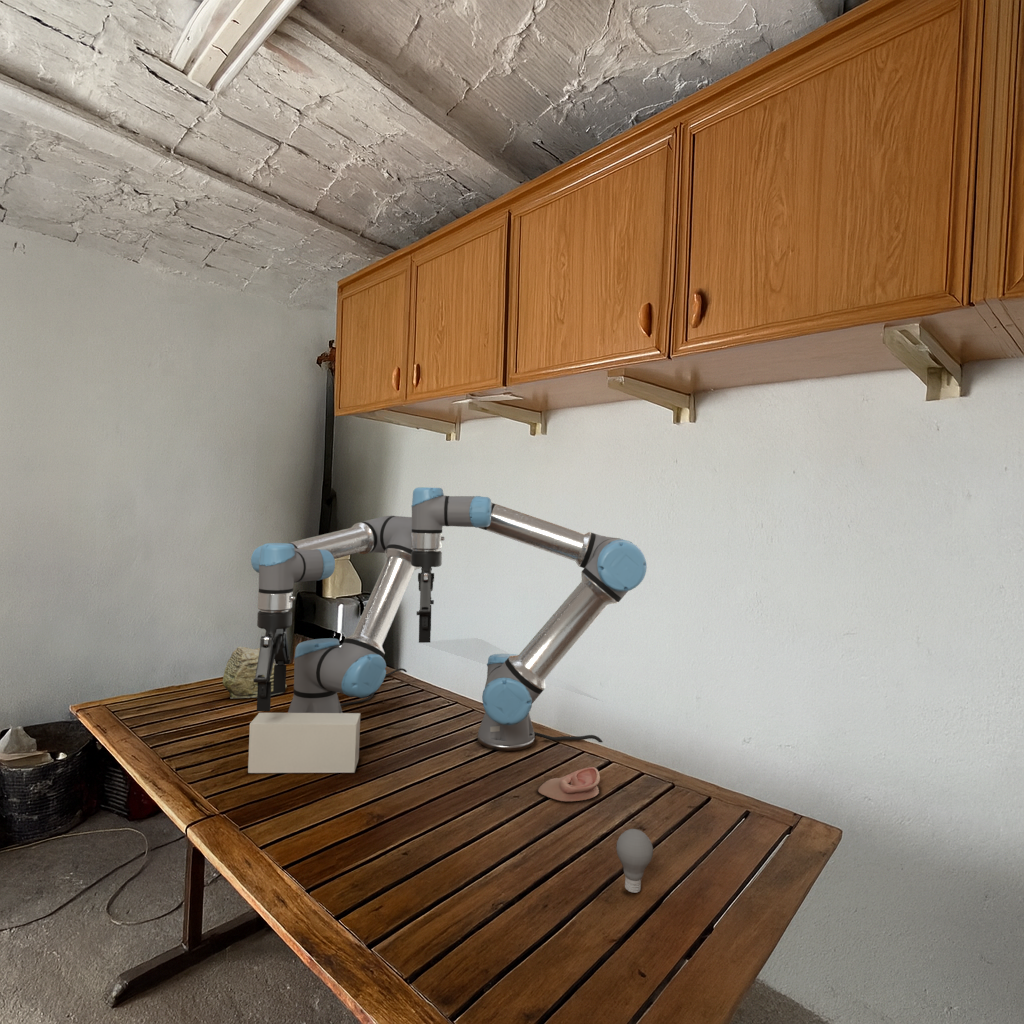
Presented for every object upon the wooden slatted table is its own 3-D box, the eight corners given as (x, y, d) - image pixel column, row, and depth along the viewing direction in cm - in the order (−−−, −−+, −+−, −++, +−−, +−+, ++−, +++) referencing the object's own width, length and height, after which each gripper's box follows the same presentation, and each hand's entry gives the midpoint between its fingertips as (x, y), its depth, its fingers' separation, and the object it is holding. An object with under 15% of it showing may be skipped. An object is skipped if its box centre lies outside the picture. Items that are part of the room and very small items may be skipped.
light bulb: (610, 879, 108) (613, 822, 108) (644, 879, 109) (647, 822, 109) (619, 902, 102) (622, 840, 102) (655, 901, 103) (658, 840, 103)
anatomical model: (536, 779, 137) (544, 758, 148) (535, 797, 137) (543, 775, 148) (598, 787, 134) (601, 766, 146) (597, 806, 134) (600, 783, 146)
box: (247, 773, 143) (249, 723, 143) (257, 759, 151) (259, 712, 151) (354, 772, 146) (356, 724, 146) (358, 759, 153) (360, 713, 153)
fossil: (218, 695, 195) (220, 647, 195) (278, 685, 208) (279, 640, 207) (228, 703, 189) (230, 653, 188) (289, 692, 201) (290, 645, 201)
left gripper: (277, 620, 135) (274, 719, 135) (303, 601, 160) (300, 685, 160) (241, 620, 134) (237, 719, 134) (272, 600, 159) (269, 684, 159)
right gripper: (442, 554, 144) (440, 647, 144) (441, 546, 168) (440, 625, 169) (408, 554, 143) (407, 647, 143) (413, 546, 168) (411, 626, 168)
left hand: (271, 701), depth 147 cm, fingers open, 13 cm apart
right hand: (425, 636), depth 156 cm, fingers open, 13 cm apart
